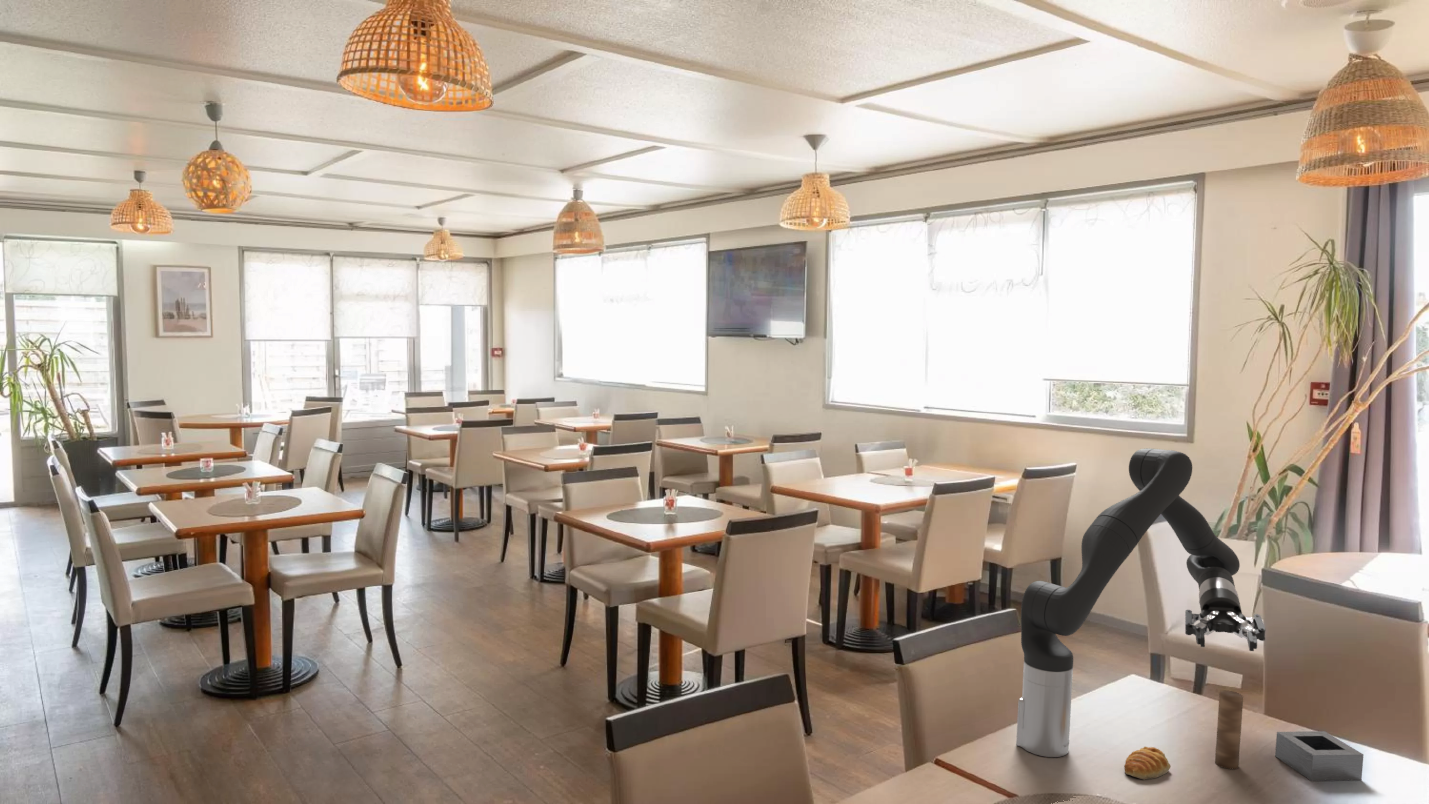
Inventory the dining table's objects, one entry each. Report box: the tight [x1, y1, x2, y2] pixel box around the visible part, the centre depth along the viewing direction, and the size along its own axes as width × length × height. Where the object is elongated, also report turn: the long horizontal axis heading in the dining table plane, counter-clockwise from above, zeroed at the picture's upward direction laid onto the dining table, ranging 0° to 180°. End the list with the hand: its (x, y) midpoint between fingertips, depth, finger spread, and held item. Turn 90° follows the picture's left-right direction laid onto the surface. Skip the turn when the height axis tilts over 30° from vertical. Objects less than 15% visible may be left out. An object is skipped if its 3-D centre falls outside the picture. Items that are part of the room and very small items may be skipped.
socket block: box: [1274, 730, 1364, 782], centre depth 178 cm, size 10×10×5 cm
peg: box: [1214, 690, 1244, 770], centre depth 178 cm, size 4×4×14 cm
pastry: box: [1123, 746, 1171, 780], centre depth 175 cm, size 9×7×4 cm
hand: (1227, 645), depth 182 cm, fingers open, 8 cm apart
